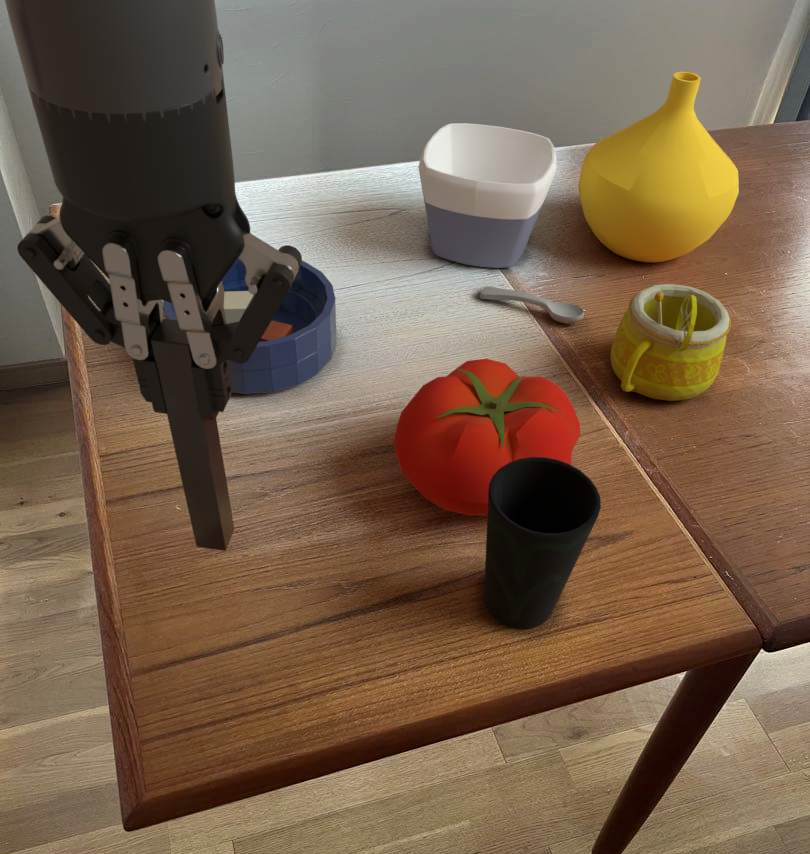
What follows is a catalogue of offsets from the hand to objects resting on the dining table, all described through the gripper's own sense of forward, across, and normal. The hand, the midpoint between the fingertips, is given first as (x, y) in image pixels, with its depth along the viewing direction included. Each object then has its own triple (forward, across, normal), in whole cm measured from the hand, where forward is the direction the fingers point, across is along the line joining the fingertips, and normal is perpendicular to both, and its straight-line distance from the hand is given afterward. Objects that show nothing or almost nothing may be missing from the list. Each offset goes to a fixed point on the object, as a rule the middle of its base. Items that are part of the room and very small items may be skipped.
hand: (190, 406), depth 45 cm
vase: (+22, +33, +66) cm, 77 cm away
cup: (+22, +21, +7) cm, 31 cm away
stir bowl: (+22, -8, +35) cm, 42 cm away
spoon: (+22, +20, +48) cm, 56 cm away
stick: (+11, 0, 0) cm, 11 cm away
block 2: (+21, -5, +33) cm, 40 cm away
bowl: (+22, +13, +61) cm, 66 cm away
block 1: (+21, -10, +37) cm, 44 cm away
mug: (+22, +33, +38) cm, 55 cm away
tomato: (+22, +17, +20) cm, 34 cm away
